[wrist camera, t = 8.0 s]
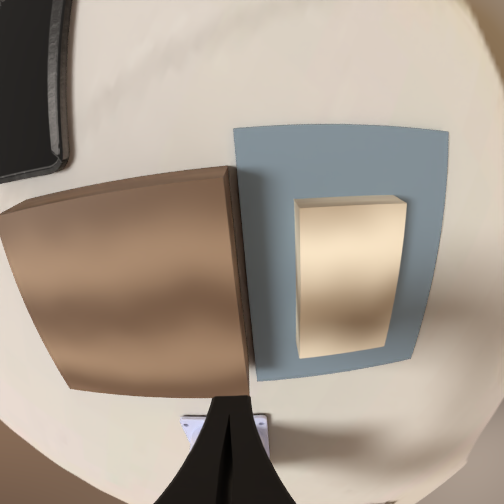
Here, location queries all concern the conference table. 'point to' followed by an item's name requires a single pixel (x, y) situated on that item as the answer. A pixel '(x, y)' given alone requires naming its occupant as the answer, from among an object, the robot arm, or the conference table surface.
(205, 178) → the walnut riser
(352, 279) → the birch block
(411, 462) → the conference table surface
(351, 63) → the conference table surface
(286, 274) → the rubber mat
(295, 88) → the conference table surface
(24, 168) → the phone
